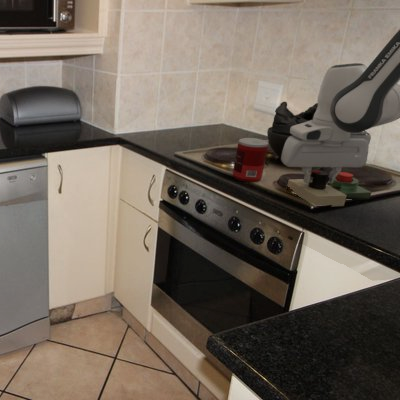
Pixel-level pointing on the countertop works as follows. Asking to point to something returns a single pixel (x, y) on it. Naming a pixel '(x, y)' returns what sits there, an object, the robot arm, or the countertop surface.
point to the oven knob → (319, 179)
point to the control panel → (317, 193)
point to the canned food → (250, 159)
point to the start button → (345, 176)
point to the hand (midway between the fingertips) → (317, 182)
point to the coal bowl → (286, 125)
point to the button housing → (351, 189)
